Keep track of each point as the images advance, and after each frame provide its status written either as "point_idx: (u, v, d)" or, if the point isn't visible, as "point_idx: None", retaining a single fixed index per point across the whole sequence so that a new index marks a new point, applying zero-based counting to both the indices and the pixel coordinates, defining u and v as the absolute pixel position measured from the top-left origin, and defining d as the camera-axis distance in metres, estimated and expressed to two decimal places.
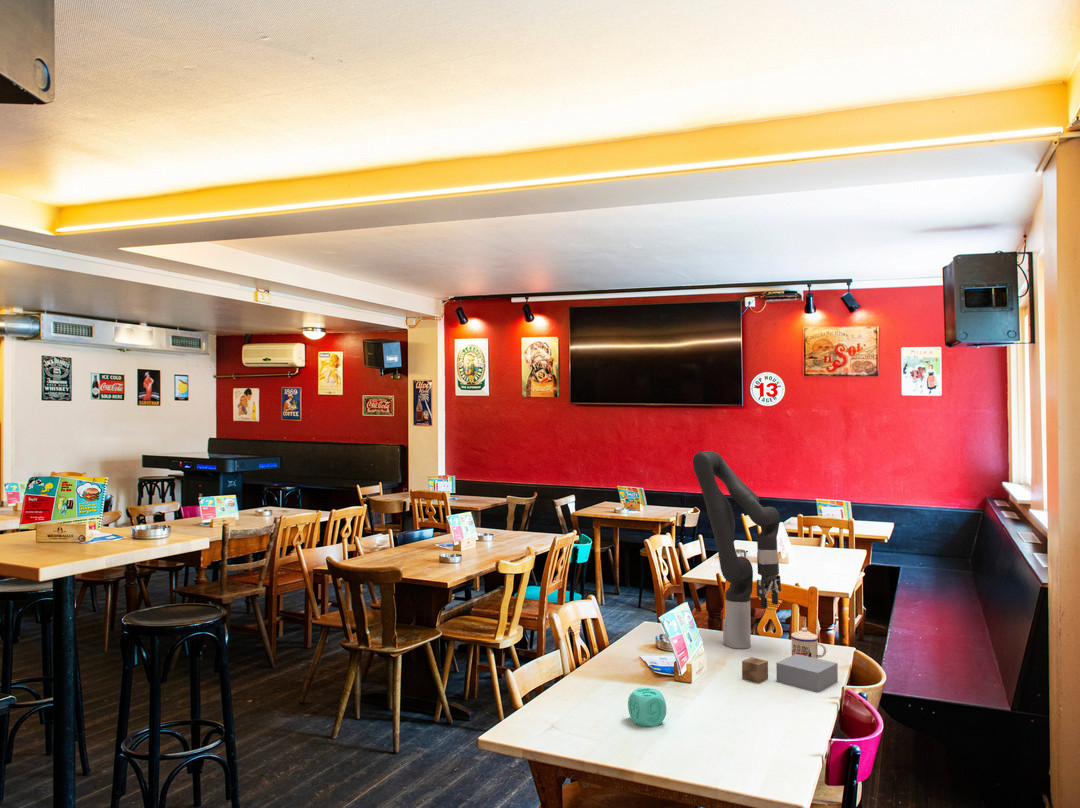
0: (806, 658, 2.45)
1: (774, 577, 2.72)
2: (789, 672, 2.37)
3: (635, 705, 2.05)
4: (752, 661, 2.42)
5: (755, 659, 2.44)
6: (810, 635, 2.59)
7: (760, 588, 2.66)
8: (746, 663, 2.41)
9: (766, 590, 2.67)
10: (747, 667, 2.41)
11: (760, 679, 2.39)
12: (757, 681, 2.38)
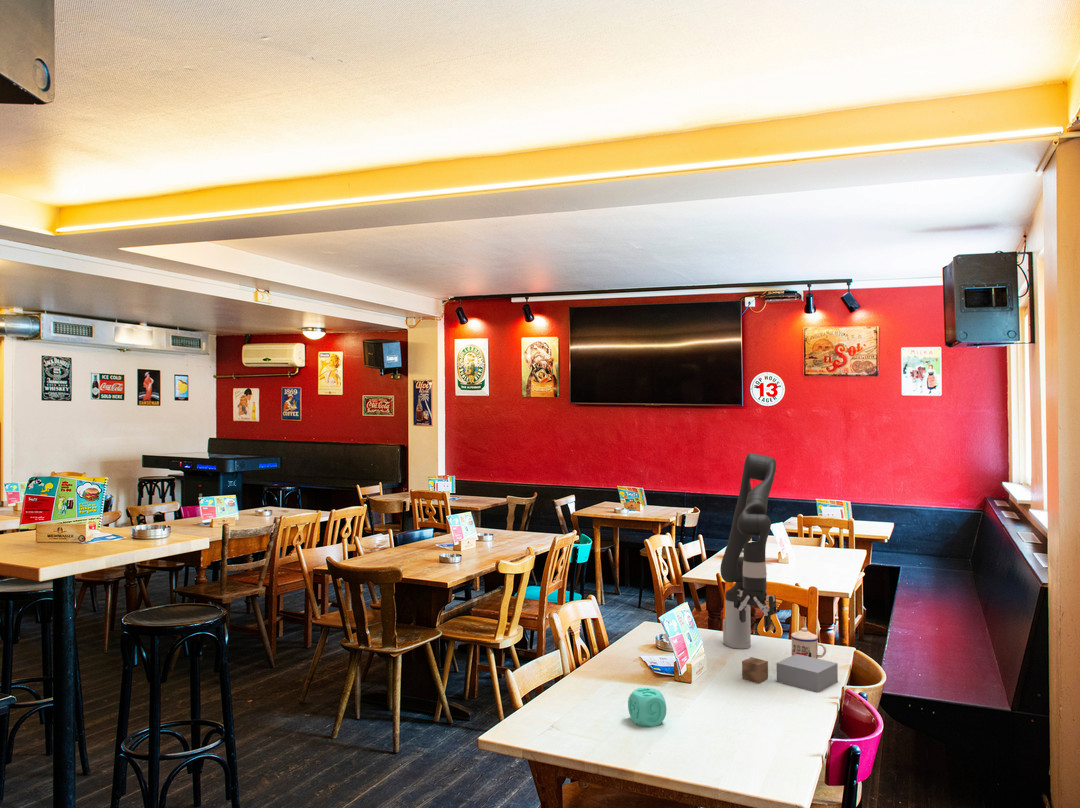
0: (806, 658, 2.45)
1: None
2: (789, 672, 2.37)
3: (635, 705, 2.05)
4: (752, 661, 2.42)
5: (755, 659, 2.44)
6: (810, 635, 2.59)
7: (774, 604, 2.38)
8: (746, 663, 2.41)
9: (767, 606, 2.41)
10: (747, 667, 2.41)
11: (760, 679, 2.39)
12: (757, 681, 2.38)
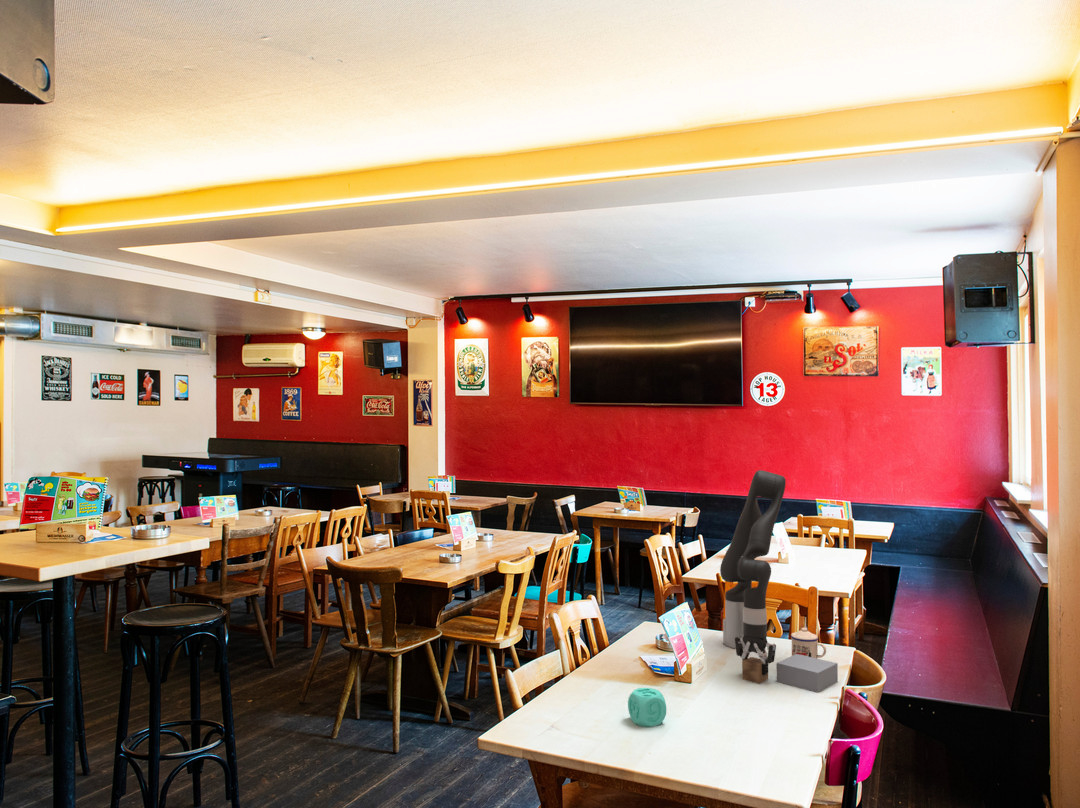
0: (806, 658, 2.45)
1: None
2: (789, 672, 2.37)
3: (635, 705, 2.05)
4: (752, 661, 2.42)
5: (755, 659, 2.44)
6: (810, 635, 2.59)
7: (773, 654, 2.38)
8: (746, 663, 2.41)
9: (766, 654, 2.41)
10: (747, 667, 2.41)
11: (760, 678, 2.39)
12: (757, 681, 2.38)
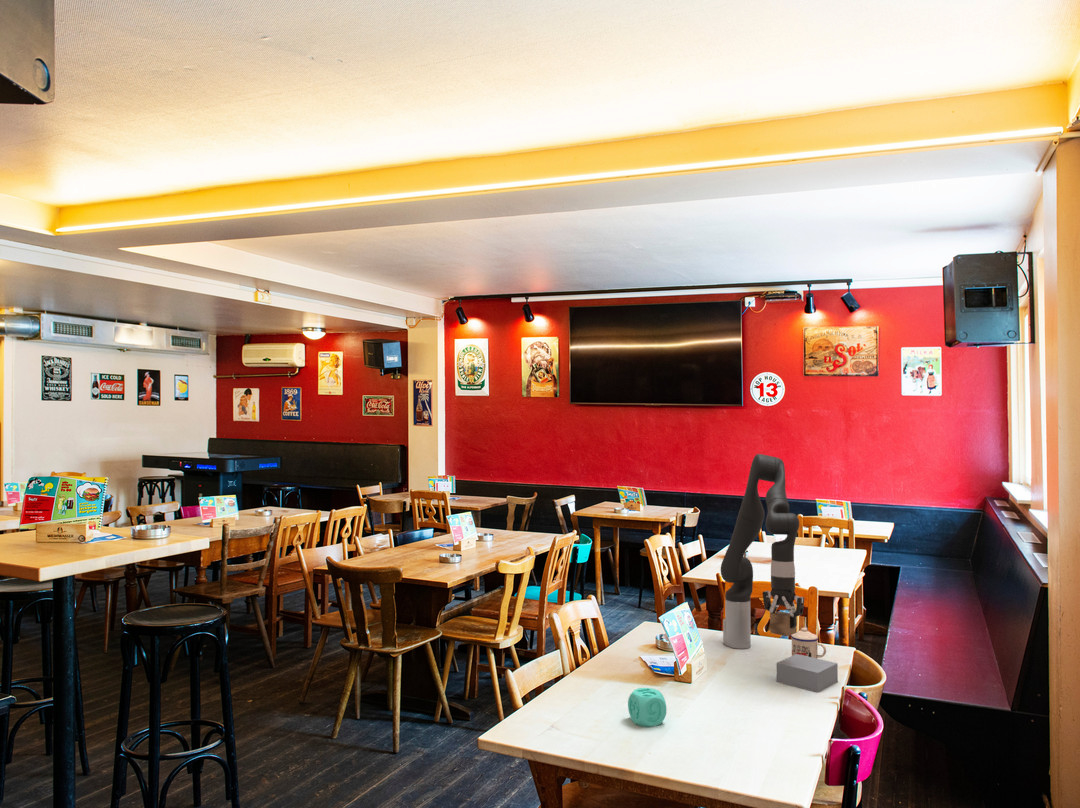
0: (806, 658, 2.45)
1: None
2: (789, 672, 2.37)
3: (635, 705, 2.05)
4: (780, 614, 2.41)
5: (783, 613, 2.43)
6: (810, 635, 2.59)
7: (802, 606, 2.37)
8: (774, 616, 2.40)
9: (794, 607, 2.40)
10: (775, 620, 2.40)
11: (789, 631, 2.38)
12: (785, 633, 2.37)
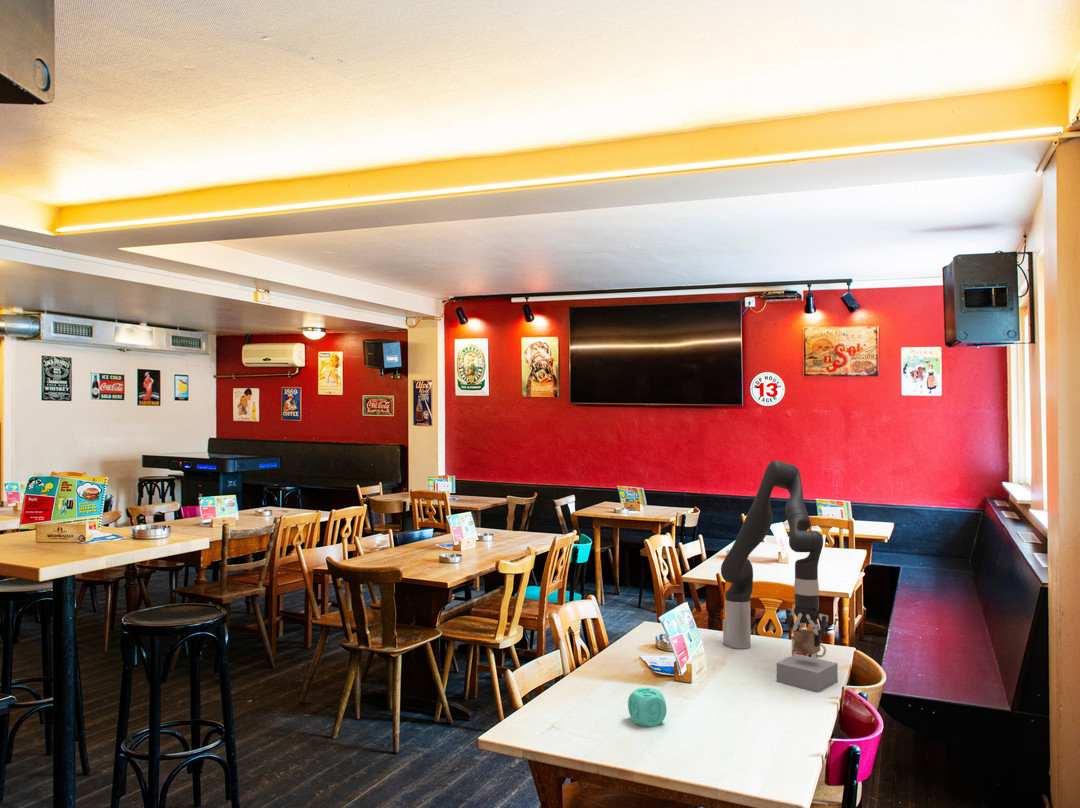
0: (806, 658, 2.45)
1: None
2: (789, 672, 2.37)
3: (635, 705, 2.05)
4: (804, 632, 2.40)
5: (807, 630, 2.42)
6: None
7: (826, 624, 2.36)
8: (798, 634, 2.39)
9: (818, 625, 2.39)
10: (799, 638, 2.39)
11: (813, 650, 2.37)
12: (810, 652, 2.36)
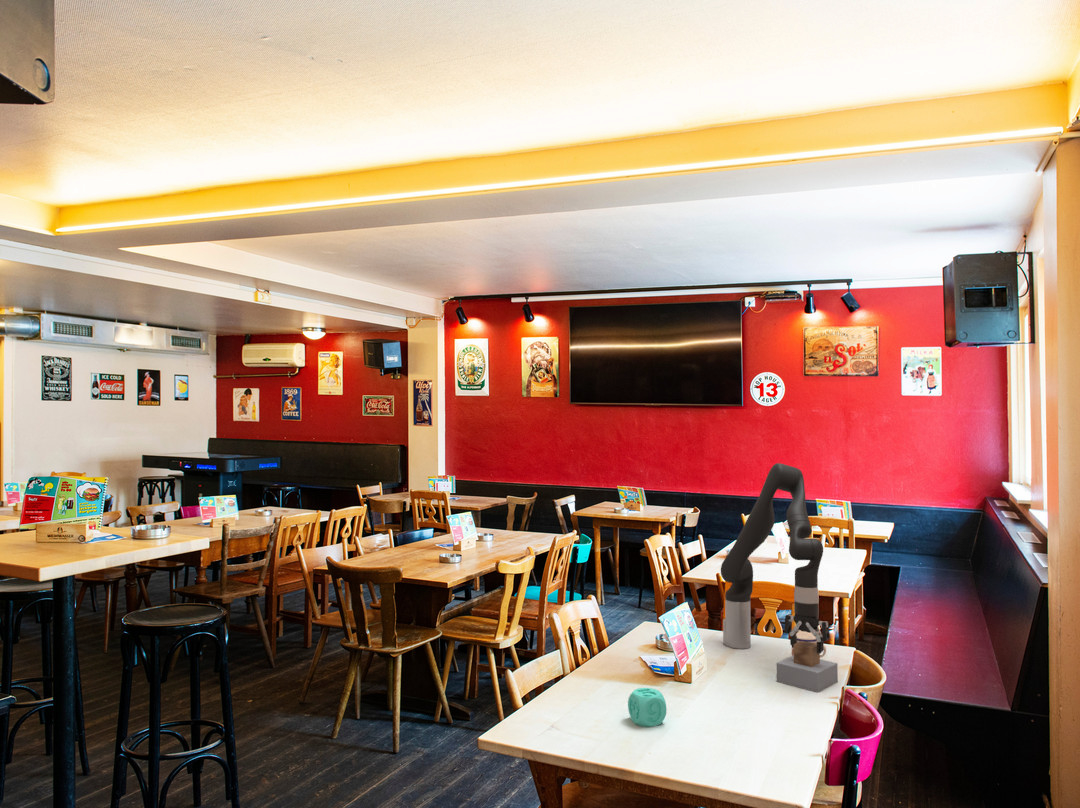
0: None
1: None
2: (789, 672, 2.37)
3: (635, 705, 2.05)
4: (804, 644, 2.40)
5: (806, 642, 2.42)
6: (810, 635, 2.59)
7: (827, 631, 2.36)
8: (798, 646, 2.39)
9: (819, 632, 2.38)
10: (799, 650, 2.39)
11: (813, 662, 2.37)
12: (810, 664, 2.36)
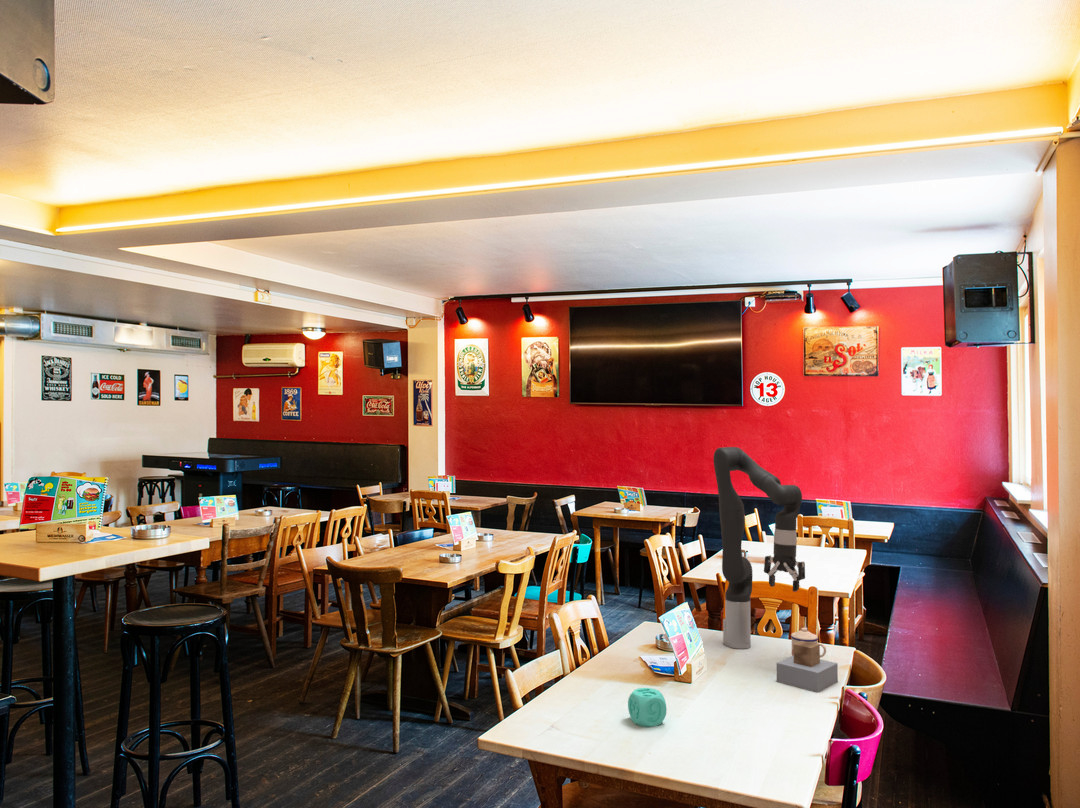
0: None
1: None
2: (789, 672, 2.37)
3: (635, 705, 2.05)
4: (804, 644, 2.40)
5: (806, 642, 2.42)
6: (810, 635, 2.59)
7: (803, 570, 2.52)
8: (798, 646, 2.39)
9: (796, 572, 2.55)
10: (799, 650, 2.39)
11: (813, 662, 2.37)
12: (810, 664, 2.36)
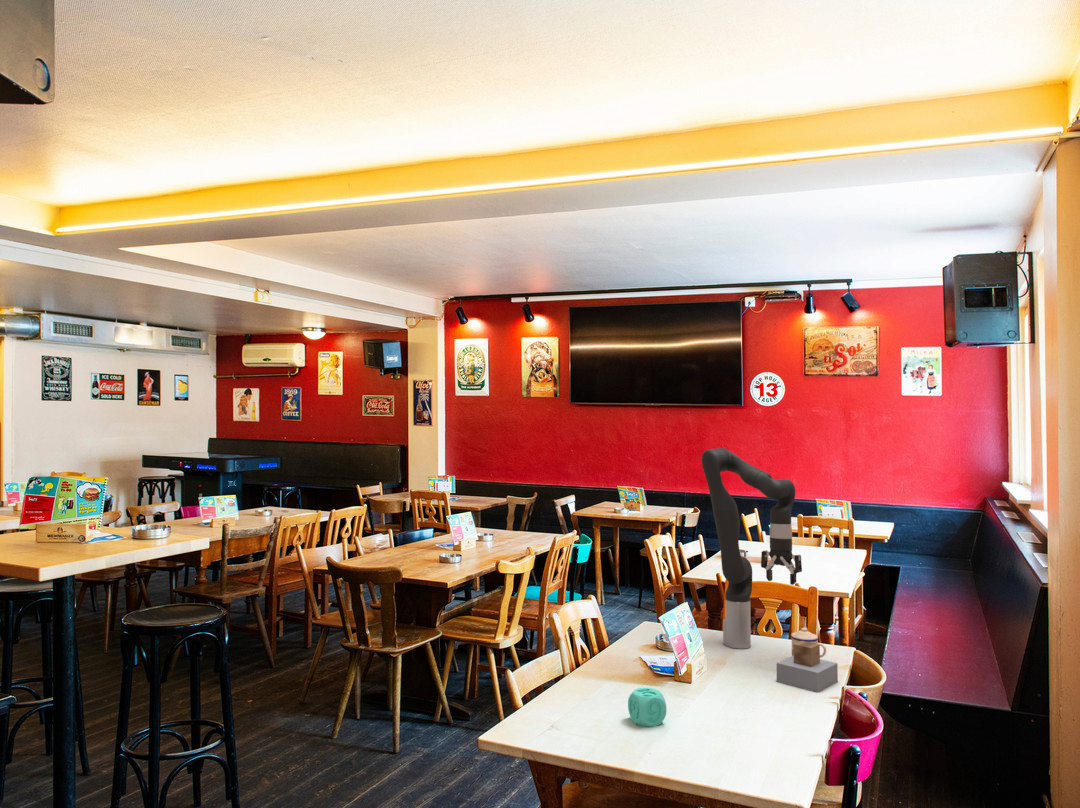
0: None
1: None
2: (789, 672, 2.37)
3: (635, 705, 2.05)
4: (804, 644, 2.40)
5: (806, 642, 2.42)
6: (810, 635, 2.59)
7: (800, 563, 2.55)
8: (798, 646, 2.39)
9: (793, 565, 2.58)
10: (799, 650, 2.39)
11: (813, 662, 2.37)
12: (810, 664, 2.36)
